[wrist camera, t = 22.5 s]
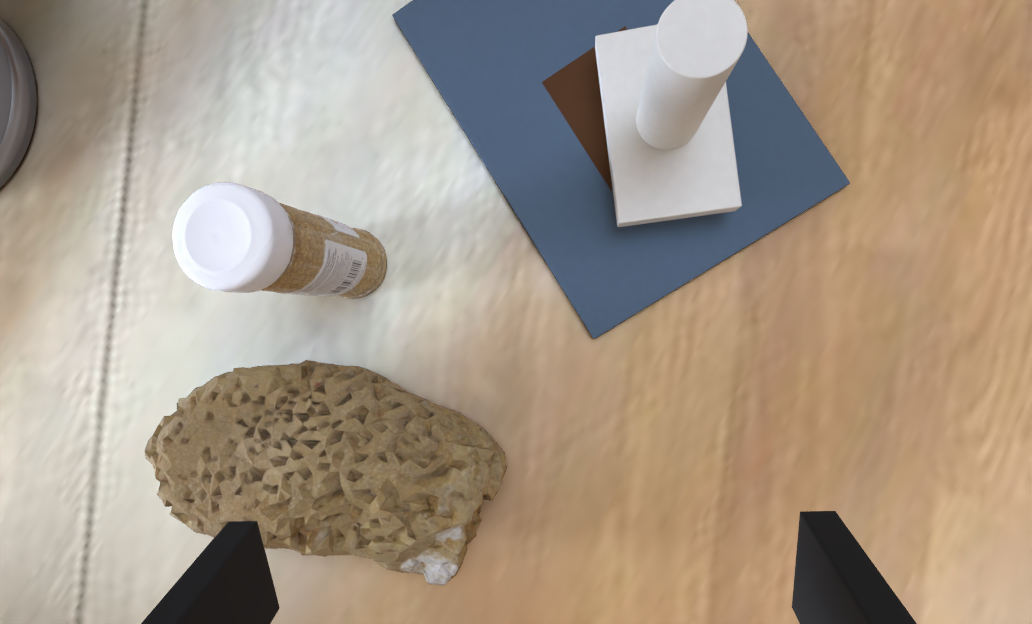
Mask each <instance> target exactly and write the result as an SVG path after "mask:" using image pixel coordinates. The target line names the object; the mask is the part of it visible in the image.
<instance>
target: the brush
mask: <svg viewBox="0 0 1032 624" xmlns="http://www.w3.org/2000/svg"><path fill="white" fill-rule="evenodd" d="M747 36H748V28H747V22H746V18H745V16H744V13H743V11H742V10H741V8H740V7H739V5H738V4H737V3H736V2H735V1H734V0H674V1H673V2H672V3H671V4H670V5H669V6H668V7H667V8H666V9H665V11H664V12H663V14H662V15H661V17H660V19H659V22H658V24H657V25H652V26H646V27H641V28H636V29H630V30H625V31H619V32H614V33H608V34H603V35H597V36H596V37H595V51H596V60H597V68H598V76H599V84H600V92H601V100H602V108H603V116H604V124H605V132H606V140H607V148H608V156H609V164H610V172H611V180H612V188H613V196H614V204H615V212H616V220H617V226H618V227H624V226H632V225H639V224H646V223H653V222H660V221H668V220H675V219H682V218H689V217H696V216H704V215H711V214H718V213H725V212H732V211H736V210H737V209H739V208H740V207H741V206H742V203H741V195H740V187H739V180H738V172H737V164H736V156H735V149H734V141H733V133H732V125H731V118H730V110H729V102H728V95H727V87H726V80H727V79H728V77H729V75H730V73H731V72H732V70H733V68H734V67H735V65H736V63H737V61H738V60H739V58H740V56H741V54H742V52H743V51H744V48H745V45H746V42H747Z"/></svg>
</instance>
